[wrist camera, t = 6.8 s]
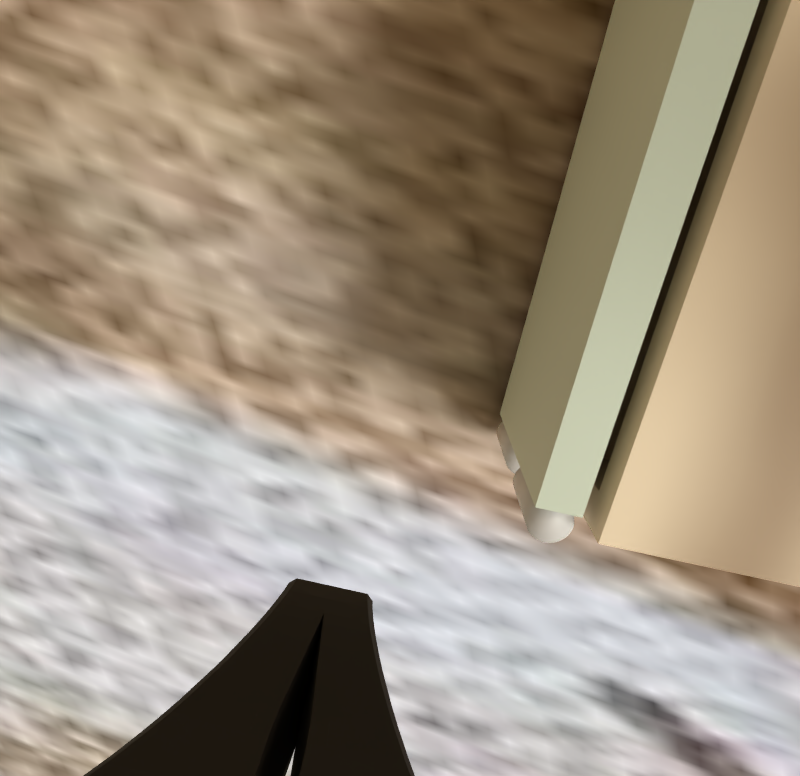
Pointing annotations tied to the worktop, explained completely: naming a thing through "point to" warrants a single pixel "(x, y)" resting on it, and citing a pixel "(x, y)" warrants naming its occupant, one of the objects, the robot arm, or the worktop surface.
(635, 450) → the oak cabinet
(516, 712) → the worktop surface
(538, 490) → the cabinet door
